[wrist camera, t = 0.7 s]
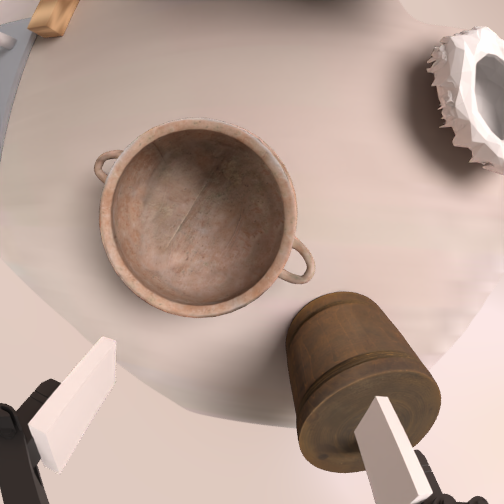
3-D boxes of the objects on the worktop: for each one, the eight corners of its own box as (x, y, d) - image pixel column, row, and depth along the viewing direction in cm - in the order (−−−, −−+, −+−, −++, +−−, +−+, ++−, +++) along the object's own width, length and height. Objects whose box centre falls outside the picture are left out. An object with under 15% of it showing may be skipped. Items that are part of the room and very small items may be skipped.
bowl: (526, 127, 32) (566, 124, 23) (470, 200, 36) (515, 209, 26) (457, 23, 29) (491, 1, 20) (385, 81, 33) (420, 57, 23)
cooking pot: (100, 228, 38) (48, 249, 26) (161, 97, 34) (122, 68, 22) (264, 316, 41) (266, 369, 29) (339, 189, 37) (374, 195, 25)
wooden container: (276, 377, 43) (284, 503, 22) (296, 284, 39) (333, 394, 18) (368, 383, 43) (416, 490, 22) (398, 296, 40) (488, 387, 18)
